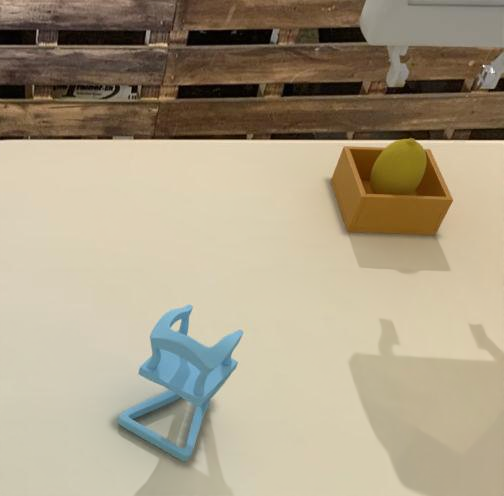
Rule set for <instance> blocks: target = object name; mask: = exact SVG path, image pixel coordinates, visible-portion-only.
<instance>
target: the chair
mask: <svg viewBox="0 0 504 496" xmlns="http://www.w3.org/2000/svg"><path fill="white" fill-rule="evenodd" d="M193 309H194V305H193V304H186V305H185V306H183V307H179V308H174V309H170V310H169V311H166V312H165V313H164V314H163V315H161V317H160V318H159V319H158V321H157V322H156V324H155V325H154V327H153V329H152V330H151V332H150V335H149V340H150V347H151V356H150V357H149V358H148V359H146V361H144V362H143V363H142V364H141V365H140V366H139V368H138V373H137V374H138V375H139V376H141V377H143V378H144V379H146V380H148V381H150V382H152V383H154V384H157V385H158V386H162V387H164V388H165V389H166V391H164V392H162V393H160V394H157V395H156V396H153V397H150V398H149V399H146V400H145V401H143V402H140V403H138V404H136V405H134V406H132V407H130V408H128V409H126V410H124V411H122V413H120V415H119V416H118V420H117V424H118V425H119V426H120V427H122V428H124V429H125V430H128V431H129V432H130V433H133V434H134V435H136V436H138V437H139V438H141V439H143V440H144V441H146V442H148V443H149V444H152V445H153V446H155V447H157V448H159V449H161V450H162V451H164V452H166V453H167V454H169V455H170V456H173V457H175V458H176V459H178V460H180V461H182V462H187V461H189V459H190V458H191V456H192V453H193V452H194V449H195V445H196V442H197V439H198V436H199V432H200V429H201V426H202V422H203V421H204V416H205V414H206V412H207V410H208V407H209V405H210V404H211V403H210V402H211V399H212V398H213V397H214V396H215V395H216V394H217V393H218V392H219V390H220V389H221V388H222V387H223V386H224V385H225V383H226V382H227V380H228V379H229V378H230V377H231V375H232V373H233V372H234V371H235V370H236V369H237V366H238V364H239V361H238V360H236V359H235V358H232V355H233V352H234V351H235V349H236V348H237V346H238V345H239V343H240V341H241V339H242V338H243V335H244V331H243V330H242V329H237V330H236V331H234V332H233V333H230V334H227V335H225V336H222V338H221V339H219V340H218V342H216V343H215V344H214V345H211V346H207V345H205V344H203V343H201V342H200V341H198V340H196V339H194V338H193V337H191V336H190V335H188V333H189V326H190V316H191V313H192V311H193ZM180 320H181V322H180V325H179V329H178V330H174V329H172V327H173V325H174V324H175V323H176V322H178V321H180ZM181 398H182V399H184V400H185V401H186V402H188V403H190V404H192V405H194V406H195V408H194V412H193V416H192V420H191V424H190V427H189V430H188V435H187V439H186V442H185V446H184V447H180V446H179V445H177V444H176V443H174V442H172V441H171V440H169V439H167V438H165V437H163V436H162V435H160V434H158V433H157V432H155V431H153V430H152V429H149V428H148V427H146V426H144V425H143V424H141V423H139V422H137V421H136V420H134V419H136V418H139V417H141V416H143V415H145V414H148V413H151V412H153V411H155V410H157V409H160V408H163V407H164V406H167V405H169V404H171V403H173V402H175V401H177V400H179V399H181Z"/></svg>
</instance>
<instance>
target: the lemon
mask: <svg viewBox="0 0 504 496" xmlns="http://www.w3.org/2000/svg"><path fill="white" fill-rule="evenodd" d="M384 148H385V149H384V150H383V151H382V153H381V154H380V155H379V157H378V158H377V160H376V162H375V163H374V165H373V168H372V171H371V176H370V186H371V190H372V192H373V193H374V194H383V195H411V194H412V193H413V192H414V191H415V190H416V188H417V187H418V186H419V184H420V182H421V180H422V178H423V175H424V172H425V168H426V162H427V158H426V153H425V150H424V149H425V148H424V147H423V146H422V145H421V143H419V142H418V141H416V139H415V138H411V137H410V138H403V139H397V140H395V141H393V142H391V143H389V144H388V145H387V146H385V147H384Z"/></svg>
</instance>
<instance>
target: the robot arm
mask: <svg viewBox="0 0 504 496" xmlns="http://www.w3.org/2000/svg"><path fill="white" fill-rule="evenodd" d="M359 28H360V31H361V34H362V36H363V37H364V39H365V40H366V42H367V44H368V45H370V46H386V48H387V53H388V57H389V63H390V66H389V69H388V70H387V71H388V72H387V74H386V78H385V82H386V85H387V87H388V88H404V87H405V84H406V80H407V79H408V77H409V74H410V70H409V68H408V65H407V64H406V63H402V62H401V57H400V56H405V55H407V52H408V50H409V47H447V48H448V47H449V48H450V47H451V48H452V47H454V48H455V47H457V48H458V47H459V48H502V49H503V50H504V0H365V1H364V5H363V7H362V11H361V14H360V16H359ZM502 74H504V51H502V52H501V53H500V54H499V55H498V57H496V58H495V59H494V60H493V61H492V62H491V63H490V64H482V65H481V67H480V70H479V73H478V75H477V77H476V80H475V84H476V86H477V87H478V89H479V90H480V89H488V90H493V89H495V88H496V87H497V85H498V82H499V80H500V79H501V76H502Z"/></svg>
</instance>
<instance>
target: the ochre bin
mask: <svg viewBox="0 0 504 496" xmlns="http://www.w3.org/2000/svg"><path fill="white" fill-rule="evenodd" d="M385 148H386V147H377V146H354V145H353V146H350V145H343V148H342V150H341V153H340V156H339V158H338V160H337V162H336V166H335V168H334V171H333V172H332V173H333V174H332V176H331V178H330V183H331V187H332V190H333V192H334V195H335V198H336V203H337V204H338V208H339V211H340V214H341V217H342V220H343V222H344V226H345V229H346V232H347V233H371V234H394V235H396V234H398V235H420V236H421V235H423V236H424V235H425V236H436V235H437V233H438V231H439V229H440V227H441V226H442V223H443V221H444V219H445V218H446V215H447V213H448V211H449V209H450V208H451V206H452V204H453V202H454V198H453V196H452V194H451V192H450V190H449V187H448V185H447V183H446V181H445V179H444V176H443V174H442V172H441V170H440V168H439V166H438V163H437V161H436V159H435V157H434V155H433V153H432V150H431V149H430V148H423V149H424V150H425V153H426V158H427V162H426V168H425V172H424V175H423V178H422V180H421V182H420V184H419V186H418V187H417V188H416V190H415V191H414V192H413V193H412V194H411V195H383V194H374V193H373V192H372V190H371V186H370V176H371V171H372V168H373V165H374V163H375V162H376V160H377V158H378V157H379V155H380V154H381V153H382V151H383V150H384V149H385Z"/></svg>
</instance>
